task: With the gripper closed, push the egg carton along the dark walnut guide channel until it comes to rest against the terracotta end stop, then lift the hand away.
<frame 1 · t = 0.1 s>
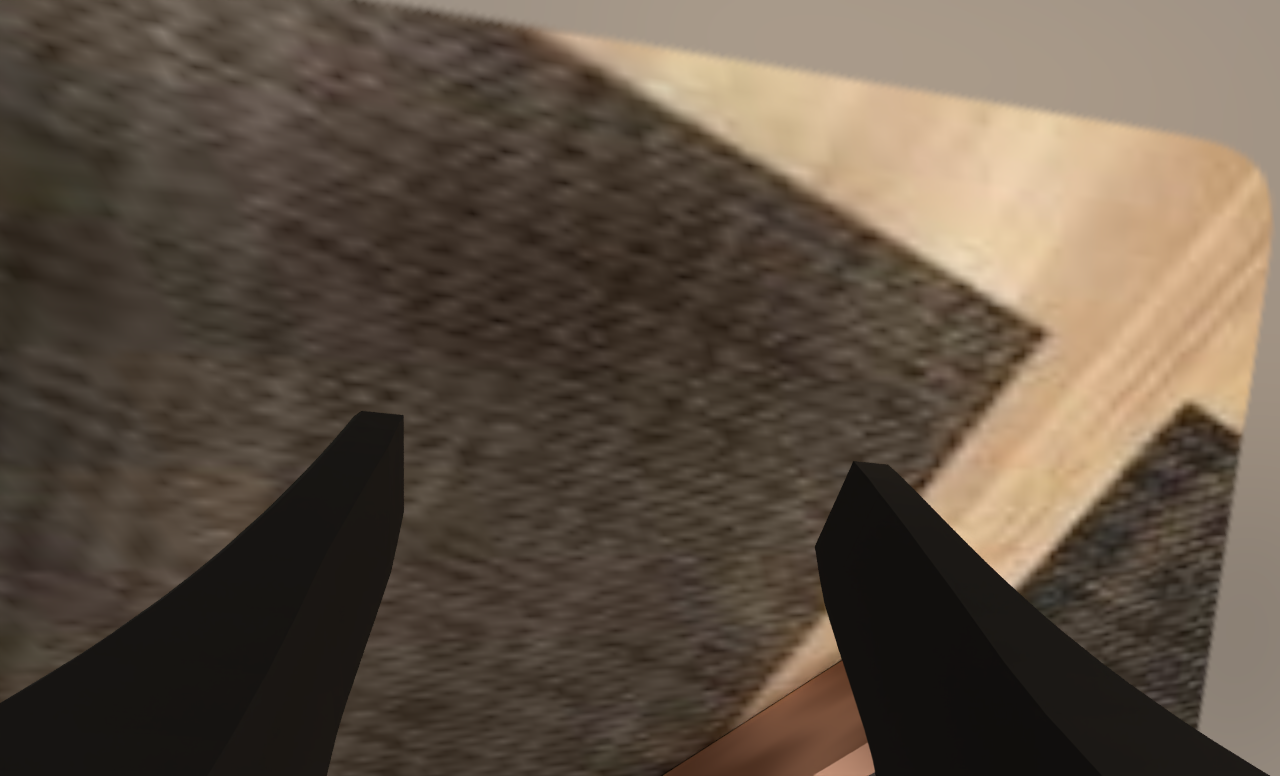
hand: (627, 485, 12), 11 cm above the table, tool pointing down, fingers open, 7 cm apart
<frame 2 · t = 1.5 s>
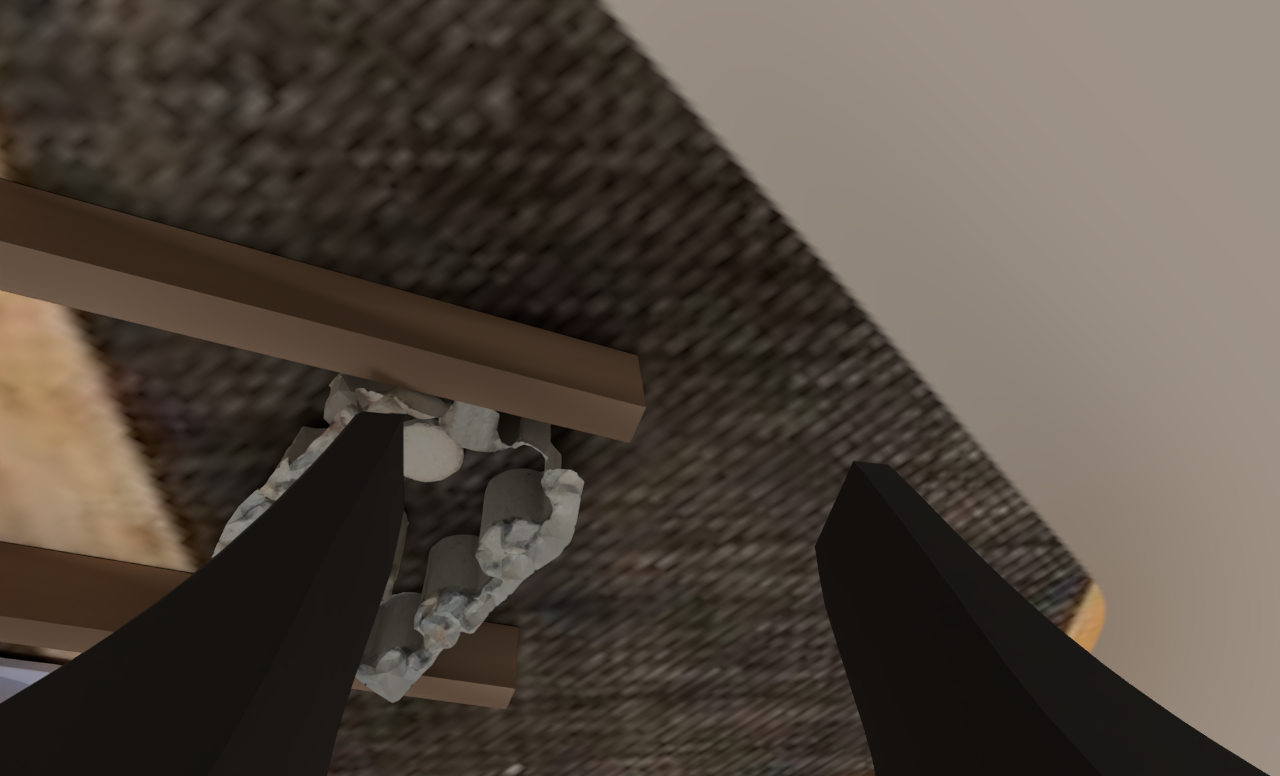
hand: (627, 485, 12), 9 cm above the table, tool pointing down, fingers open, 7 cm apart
egg carton: (405, 480, 24), on the table
guide channel: (271, 460, 22), on the table
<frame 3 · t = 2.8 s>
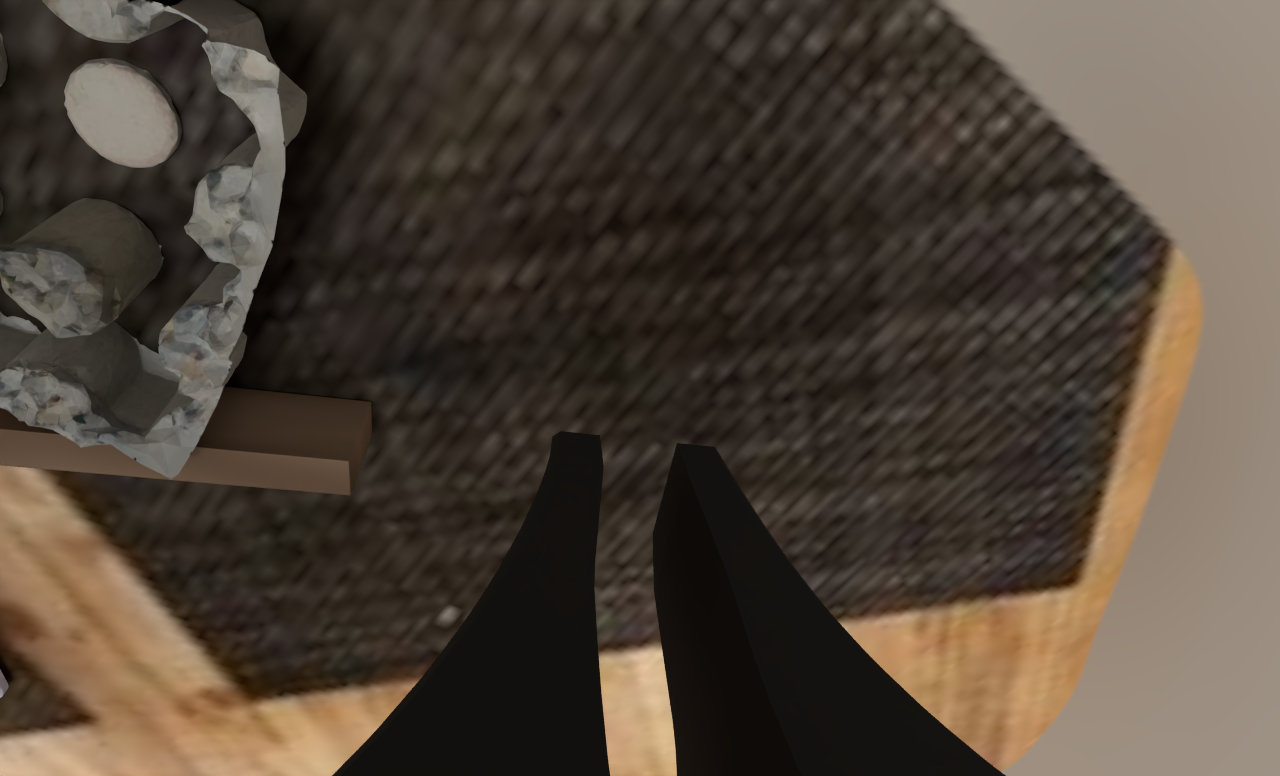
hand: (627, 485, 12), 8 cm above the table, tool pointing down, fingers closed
egg carton: (133, 180, 18), on the table
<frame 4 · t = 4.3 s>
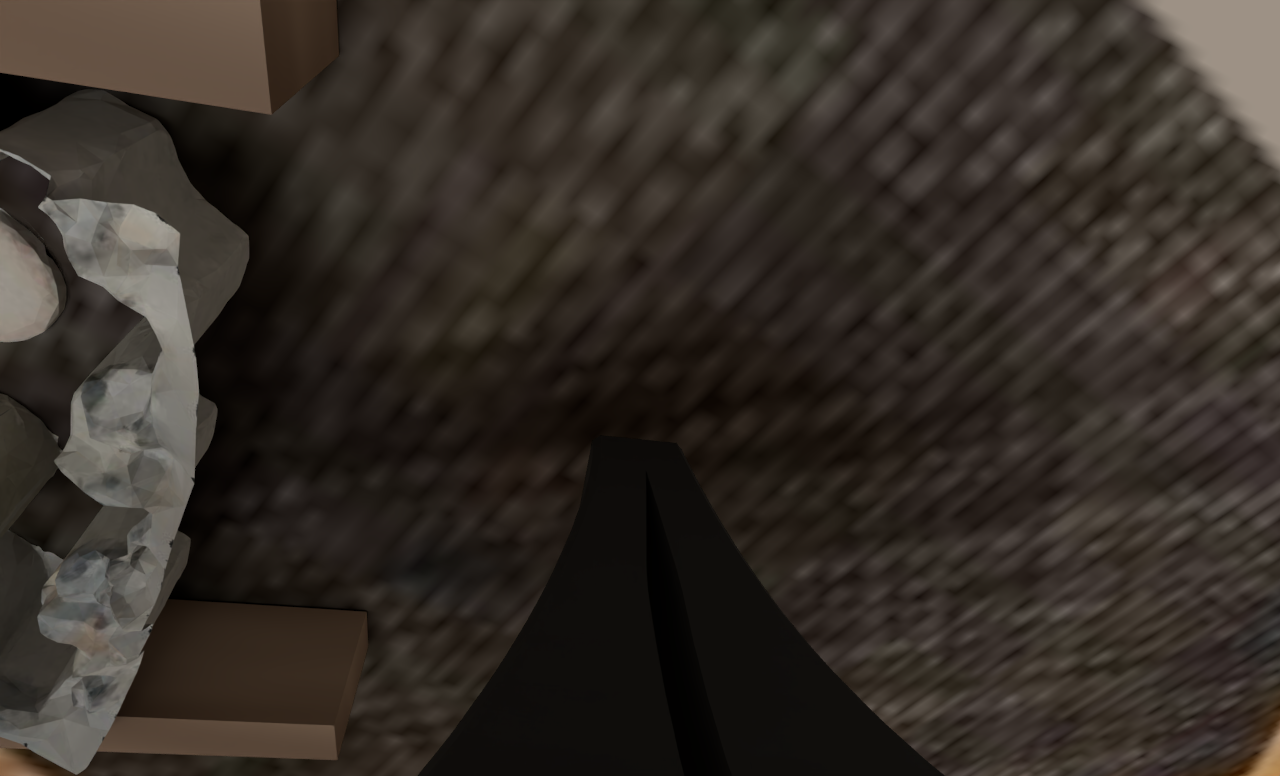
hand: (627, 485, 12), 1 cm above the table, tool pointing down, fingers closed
egg carton: (7, 351, 12), on the table
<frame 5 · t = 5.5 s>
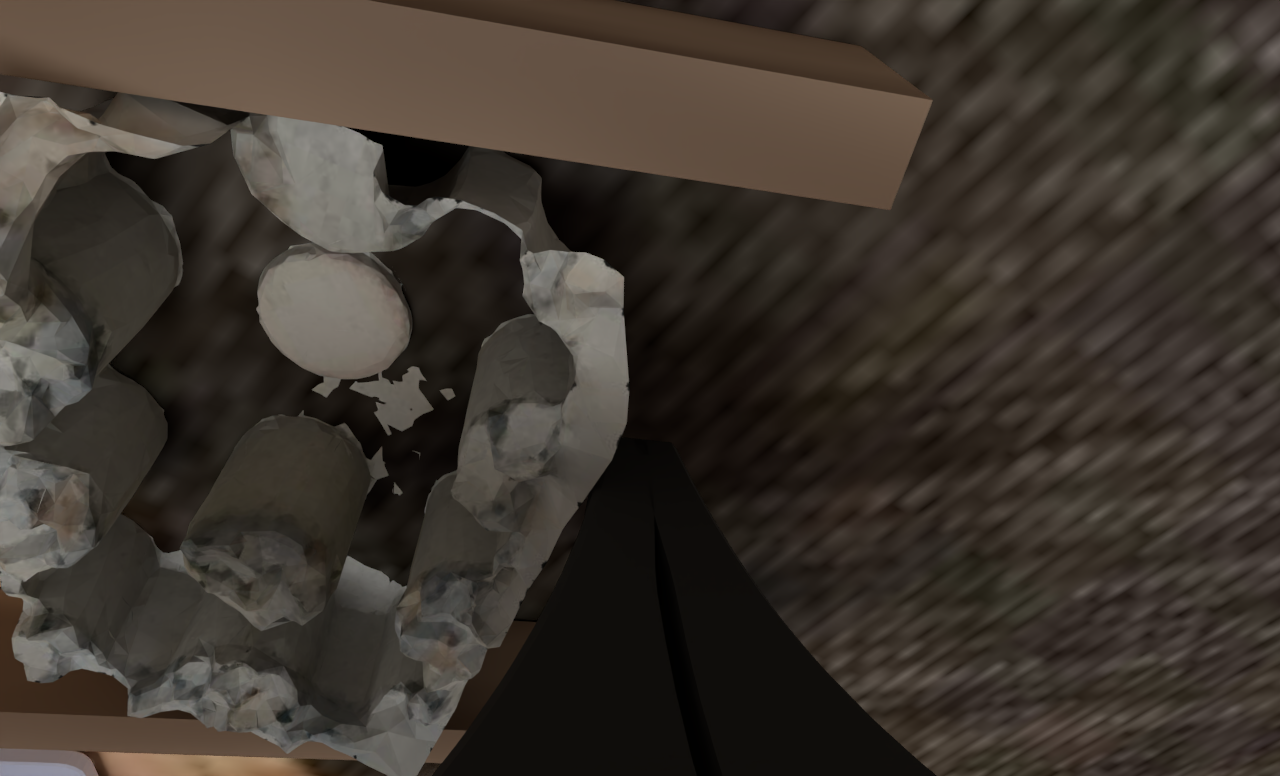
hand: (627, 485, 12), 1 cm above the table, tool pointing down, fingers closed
egg carton: (336, 387, 13), on the table, touching gripper
guide channel: (198, 387, 12), on the table
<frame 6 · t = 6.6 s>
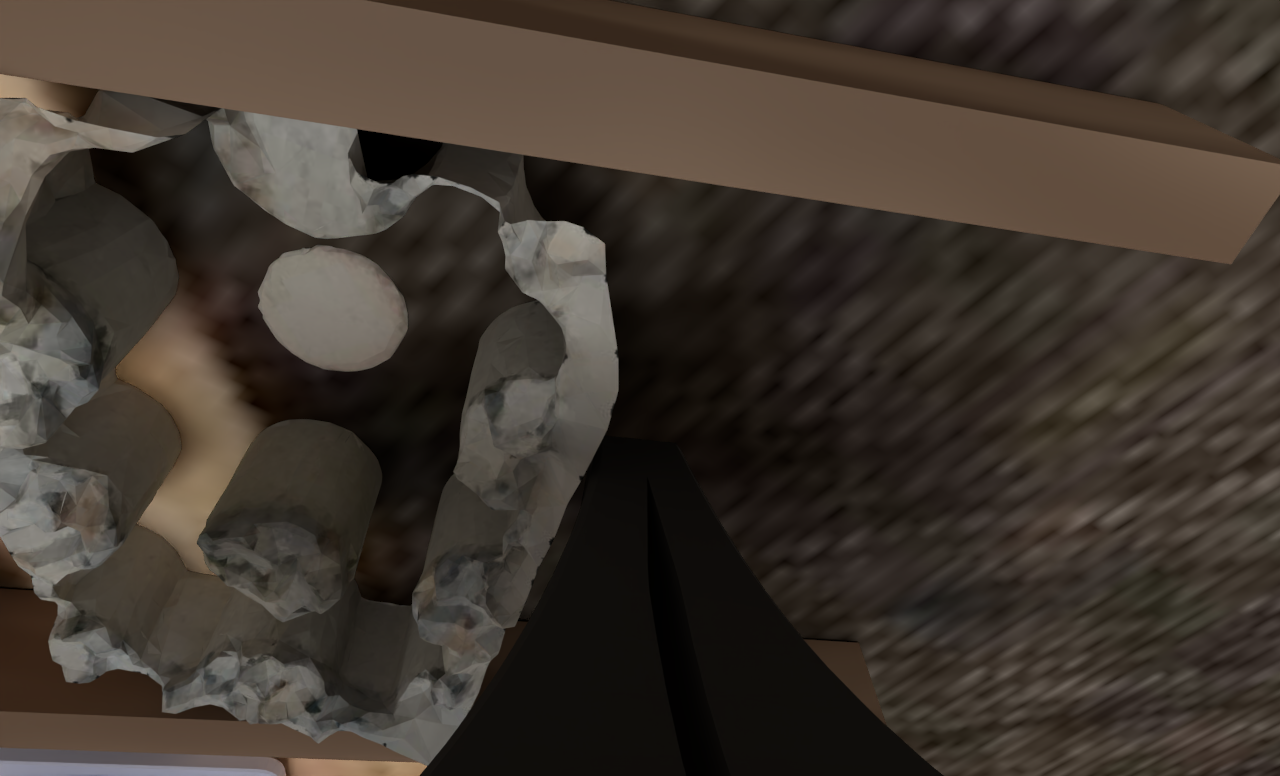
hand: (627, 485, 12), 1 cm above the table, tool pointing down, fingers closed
egg carton: (343, 381, 13), on the table
guide channel: (473, 415, 13), on the table
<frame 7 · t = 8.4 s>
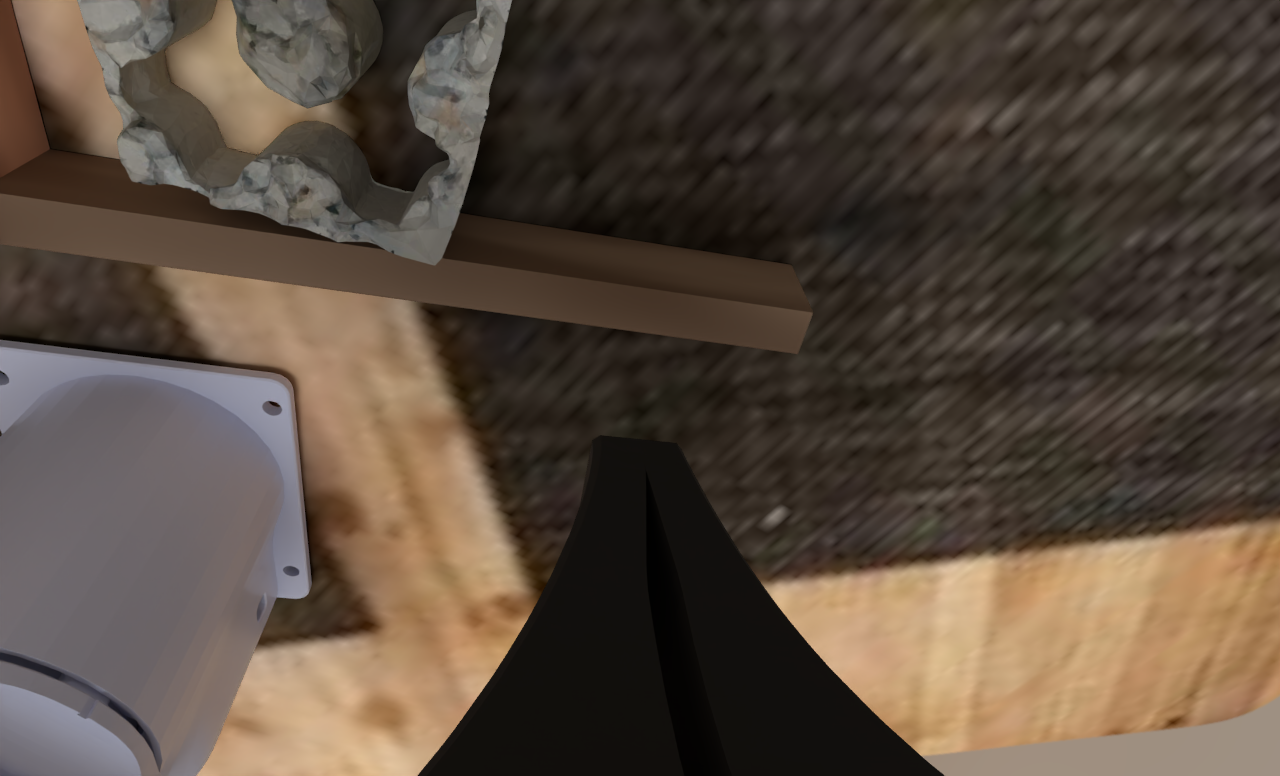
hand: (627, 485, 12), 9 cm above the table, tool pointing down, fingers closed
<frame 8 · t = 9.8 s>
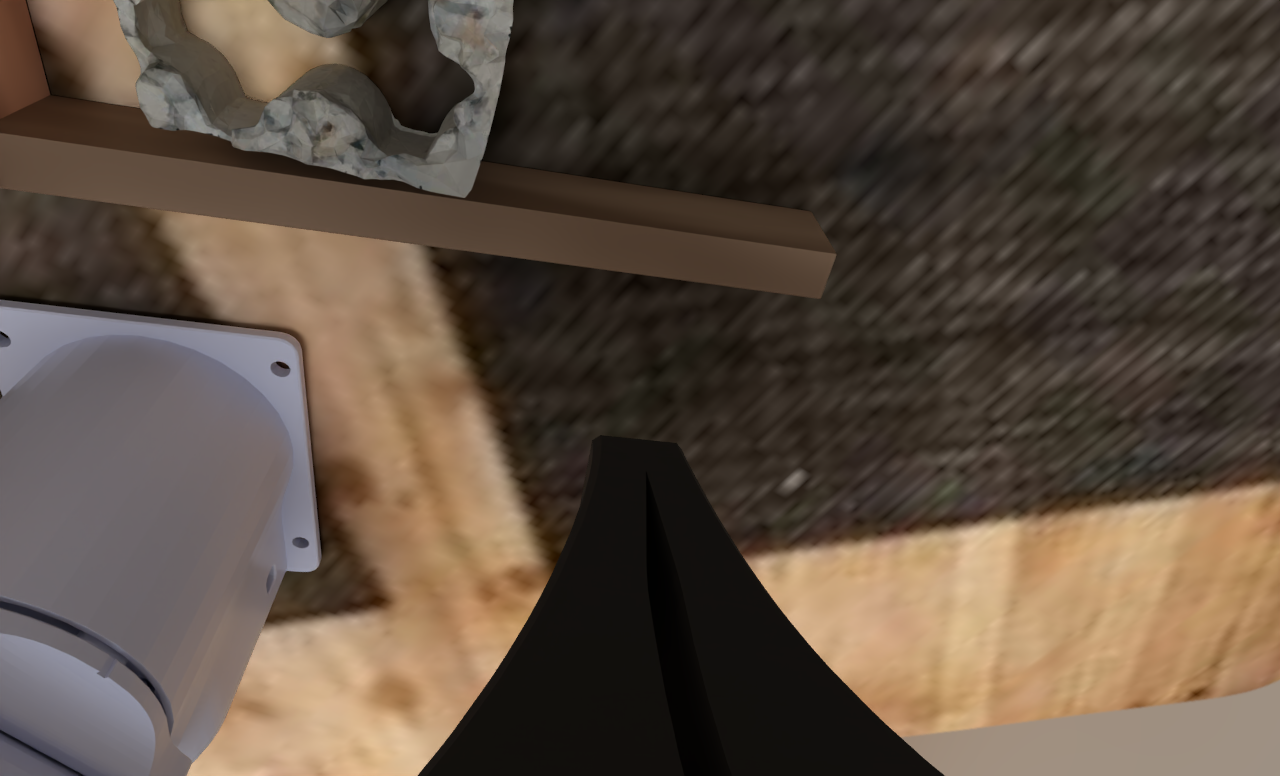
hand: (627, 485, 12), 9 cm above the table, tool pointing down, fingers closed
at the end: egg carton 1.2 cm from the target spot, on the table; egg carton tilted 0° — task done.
